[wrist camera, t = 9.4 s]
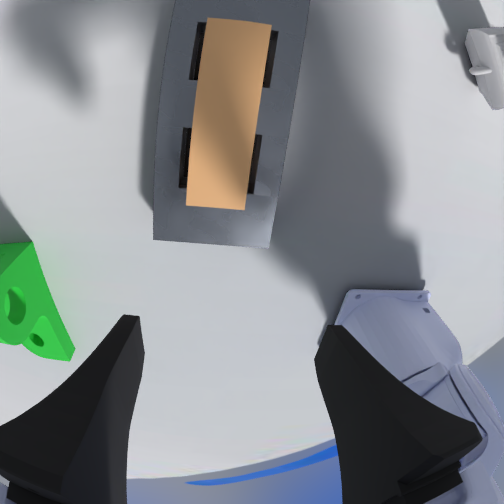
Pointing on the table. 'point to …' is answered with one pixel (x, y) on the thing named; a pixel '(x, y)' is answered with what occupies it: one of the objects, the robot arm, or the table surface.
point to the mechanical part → (29, 305)
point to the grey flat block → (267, 129)
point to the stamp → (488, 62)
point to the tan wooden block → (226, 112)
